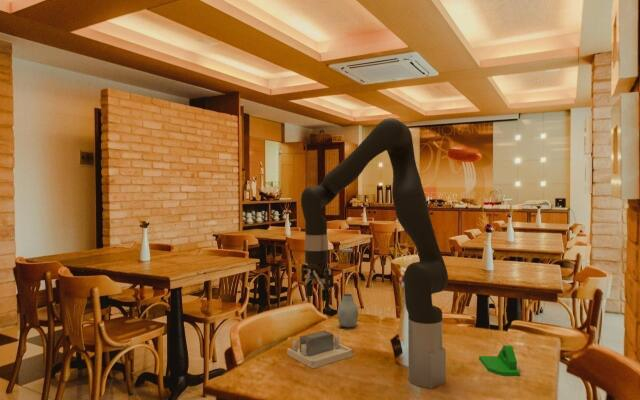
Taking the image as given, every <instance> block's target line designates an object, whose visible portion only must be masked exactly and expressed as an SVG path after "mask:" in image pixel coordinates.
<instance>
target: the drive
mask: <svg viewBox="0 0 640 400" xmlns="http://www.w3.org/2000/svg"><path fill="white" fill-rule="evenodd" d="M329 332H330V331H327V330H320V331H316V332H312V333H309V334H304V335H300V336H299V348H300V352H301V345H302V344H306V352H307V356H308V357H309V356H312V355H316V354H319V353H323V352H326V351H330V350H333V349H334V342H335V335H334V333H331V332H330V333H329Z"/></svg>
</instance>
